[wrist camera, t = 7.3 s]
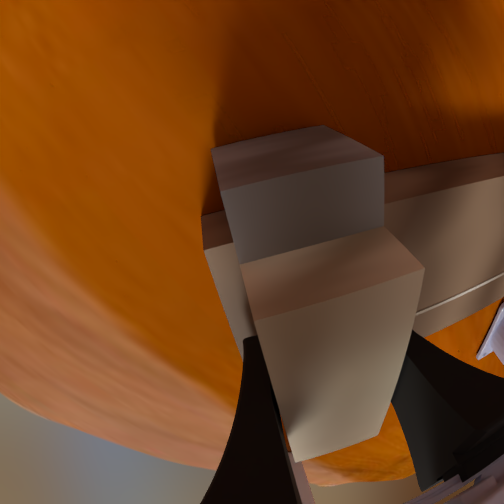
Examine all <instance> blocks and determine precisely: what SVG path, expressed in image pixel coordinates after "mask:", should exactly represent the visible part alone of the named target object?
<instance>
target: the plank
mask: <svg viewBox="0 0 504 504" xmlns="http://www.w3.org/2000/svg"><path fill="white" fill-rule="evenodd" d="M201 224H202V236H203V249H204V253H205V256H206V259H207V262H208V265H209V268H210V271H211V274H212V276H213V279H214V282H215V285H216V288H217V291H218V294H219V297H220V299H221V302H222V305H223V308H224V311H225V313H226V316H227V319H228V322H229V324H230V327H231V330H232V333H233V335H234V338H235V341H236V344H237V346H238V349H239V352H240V354H241V357H242V360H243V340H244V339H245V338H247V337H251V336H255V335H258V334H257V331H256V327H255V324H254V320H253V316H252V312H251V308H250V304H249V300H248V296H247V292H246V288H245V284H244V280H243V276H242V272H241V268H240V264H239V261H238V257H237V253H236V249H235V246H234V242H233V238H232V234H231V231H230V227H229V223H228V219H227V216H226V212H225V210H223V211H219V212H215V213H212V214H208V215H204V216H201ZM384 227H385V228H386V229H387V230H388V231H389V232H390V233H391V234H393V235H394V236H395V237H396V238H397V239H398V240H399V241H400V242H401V243H402V244H403V245H404V246H405V248H406V249H407V250H408V251H409V252H410V253H411V254H412V255H413V256H414V257H415V258H416V259H417V260H418V261H419V262H420V263H421V264H422V265H423V266H424V267H425V271H424V277H423V282H422V287H421V292H420V297H419V302H418V306H417V311H416V315H415V320H414V324H413V328H412V330H414V331H415V332H416V333H418V334H419V335H420V336H422V337H423V338H424V337H426V336H428V335H430V334H433V333H435V332H437V331H439V330H441V329H443V328H445V327H447V326H450V325H452V324H454V323H456V322H458V321H460V320H462V319H464V318H466V317H468V316H469V315H471V314H473V313H475V312H477V311H479V310H481V309H483V308H485V307H486V306H488V305H490V304H492V303H494V302H495V301H497V300H499V299H501V298H502V297H504V153H497V154H490V155H484V156H477V157H471V158H465V159H459V160H453V161H447V162H441V163H435V164H430V165H424V166H419V167H413V168H408V169H403V170H398V171H392V172H387V173H384Z"/></svg>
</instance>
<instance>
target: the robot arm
mask: <svg viewBox="0 0 504 504" xmlns="http://www.w3.org/2000/svg"><path fill="white" fill-rule="evenodd" d="M492 351H494V352H495V354H496V355H497V356H498V358H499V359H500V360H501V362H502V363H503V365H504V302H503V303H502V304H501V306H500V308H499V310H498V312H497V315H496V317H495V319H494V321H493V324H492V326H491V328H490V330H489V332H488V334H487V336H486V338H485V340H484V342H483V344H482V346H481V348H480V350H479V352H478V354H477V356H476V358H477V359H478V360H479V359H481V358H483V357H484V356H486V355H487V354H489V353H491V352H492ZM391 403H392V405H393V407H394V409H395V411H396V414H397V416H398V419H399V422H400V424H401V427H402V430H403V432H404V435H405V438H406V441H407V444H408V447H409V450H410V454H411V457H412V460H413V464H414V468H415V472H416V476H417V480H418V484H419V487H420V489H421V491H422V492H423V491H425V490H426V489H428V488H430V487H432V486H434V485H436V484H437V483H439V482H441V481H443V480H444V483H442V484H441V485H439V486H437V487H435V488H433V489H431V490H429V491H428V492H426V493H424V494H422V495H420V496H418V497H416V498H414V499H412V500H410V501H408V502H405V503H403V504H434V503H436V502H438V501H440V500H441V499H443V498H445V497H447V496H448V495H449V494H452V493H453V492H455V491H457V490H458V489H460V488H461V487H463V486H465V485H466V484H468V483H469V482H471V481H472V480H474V479H475V478H476V479H475V481H474V485H473V486H471V487H470V488H468V489H467V490H465V491H463V492H461V493H460V494H458V495H456V496H455V497H453V498H452V499H450V500H449V501H447V502H445V503H444V504H504V378H502V377H498V376H496V375H493V374H490V373H487V372H485V371H482V370H480V369H478V368H476V367H473V366H471V365H469V364H467V363H464V362H463V361H461V360H459V359H457V358H455V357H453V356H451V355H450V354H448V353H446V352H444V351H443V350H441V349H440V348H438V347H436V346H435V345H433V344H432V343H430V342H429V341H427V340H426V339H425V338H423V337H422V336H420V335H419V334H418V333H416V332H415V331H414V330H412V332H411V336H410V340H409V343H408V347H407V351H406V354H405V358H404V361H403V365H402V368H401V371H400V374H399V378H398V381H397V384H396V387H395V390H394V393H393V396H392V399H391ZM200 504H302V501H301V497H300V494H299V491H298V487H297V484H296V480H295V476H294V473H293V469H292V466H291V462H290V459H289V455H288V451H287V448H286V444H285V439H284V434H283V428H282V423H281V417H280V411H279V407H278V403H277V400H276V397H275V393H274V390H273V386H272V383H271V379H270V376H269V373H268V369H267V366H266V362H265V359H264V355H263V352H262V348H261V345H260V341H259V338H258V335H255V336H251V337H247V338H245V339H244V340H243V371H242V380H241V388H240V394H239V399H238V404H237V409H236V414H235V418H234V422H233V426H232V429H231V433H230V436H229V439H228V442H227V445H226V448H225V451H224V454H223V457H222V459H221V462H220V464H219V466H218V469H217V471H216V473H215V476H214V478H213V480H212V482H211V484H210V487H209V488H208V490H207V492H206V494H205V496H204V498H203V500H202V502H201V503H200Z"/></svg>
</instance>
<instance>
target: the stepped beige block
mask: <svg viewBox="0 0 504 504" xmlns="http://www.w3.org/2000/svg"><path fill="white" fill-rule="evenodd" d="M211 153H212V157H213V162H214V166H215V171H216V175H217V180H218V184H219V189H220V193H221V197H222V200H223V204H224V208H225V212H226V216H227V219H228V223H229V227H230V231H231V234H232V238H233V242H234V246H235V249H236V253H237V257H238V261H239V264H240V268H241V272H242V276H243V280H244V284H245V288H246V292H247V296H248V300H249V304H250V308H251V312H252V316H253V320H254V324H255V327H256V331H257V334H258V338H259V341H260V345H261V348H262V352H263V355H264V359H265V362H266V366H267V369H268V373H269V376H270V379H271V383H272V386H273V390H274V393H275V397H276V400H277V403H278V407H279V410H280V414H281V417H282V420H283V424H284V427H285V430H286V434H287V437H288V440H289V444H290V447H291V450H292V454H293V457H294V460H295V463H296V462H300V461H303V460H307V459H310V458H314V457H317V456H320V455H324V454H327V453H330V452H333V451H336V450H339V449H342V448H345V447H348V446H350V445H353V444H356V443H359V442H361V441H364V440H366V439H369V438H372V437H374V436H377V435H378V433H379V431H380V428H381V426H382V423H383V420H384V418H385V415H386V412H387V410H388V407H389V404H390V401H391V399H392V396H393V393H394V390H395V387H396V384H397V381H398V378H399V374H400V371H401V368H402V365H403V361H404V358H405V354H406V351H407V347H408V343H409V340H410V336H411V332H412V328H413V324H414V320H415V315H416V311H417V306H418V302H419V297H420V292H421V287H422V282H423V277H424V271H425V267H424V266H423V265H422V264H421V263H420V262H419V261H418V260H417V259H416V258H415V257H414V256H413V255H412V254H411V253H410V252H409V251H408V250H407V249H406V248H405V246H404V245H403V244H402V243H401V242H400V241H399V240H398V239H397V238H396V237H395V236H394V235H393V234H391V233H390V232H389V231H388V230H387V229H386V228H385V227H384V156H383V155H381V154H380V153H378V152H376V151H374V150H372V149H370V148H369V147H367V146H365V145H363V144H361V143H359V142H357V141H355V140H353V139H351V138H349V137H347V136H345V135H343V134H341V133H339V132H337V131H335V130H333V129H331V128H329V127H327V126H325V125H320V126H314V127H308V128H303V129H297V130H292V131H287V132H282V133H277V134H272V135H267V136H262V137H258V138H253V139H249V140H245V141H240V142H236V143H232V144H228V145H224V146H220V147H216V148H212V149H211Z"/></svg>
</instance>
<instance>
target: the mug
mask: <svg viewBox="0 0 504 504" xmlns="http://www.w3.org/2000/svg"><path fill="white" fill-rule="evenodd" d="M288 455H289V459H290V462H291V466H292V469H293V473H294V476H295V480H296V484H297V487H298V491H299V494H300V497H301V501H302V504H315V502H314V499H313V496H312V492H311V489H310V486H309V483H308V480H307V477H306V474H305V471H304V468H303V465H302V462H301V461H300V462H296V463H295V460H294V457H293V454H292V452H288Z"/></svg>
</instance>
